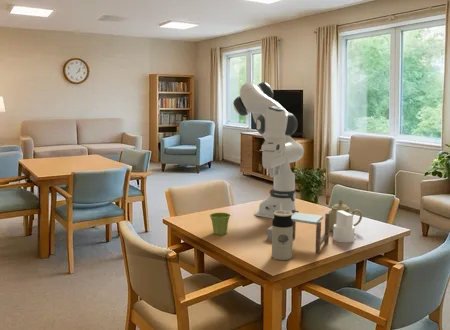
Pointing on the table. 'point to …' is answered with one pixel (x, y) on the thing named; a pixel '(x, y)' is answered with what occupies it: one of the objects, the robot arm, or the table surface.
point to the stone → (269, 233)
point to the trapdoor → (306, 218)
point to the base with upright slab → (343, 227)
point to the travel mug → (282, 235)
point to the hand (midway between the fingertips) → (274, 176)
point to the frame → (317, 232)
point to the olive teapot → (334, 213)
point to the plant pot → (220, 222)
